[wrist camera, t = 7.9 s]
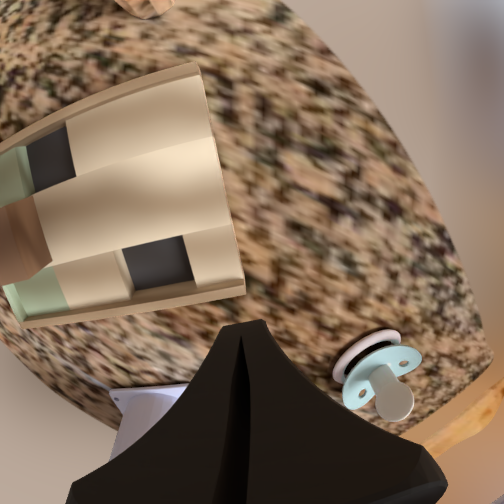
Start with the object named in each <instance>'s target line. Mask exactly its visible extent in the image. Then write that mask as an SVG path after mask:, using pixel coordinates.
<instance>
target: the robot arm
mask: <svg viewBox="0 0 504 504" xmlns="http://www.w3.org/2000/svg"><path fill="white" fill-rule="evenodd" d="M109 395H110V397H111V398H112V400H113V401H114V403H115V404H116V406H117V407H118V409H119V410H120V412H121V413H122V415H123V418H122V421H121V424H120V427H119V430H118V433H117V436H116V440H115V443H114V446H113V450H112V453H111V456H110V459H109V462H108V463H106V464H105V465H103V466H101V467H100V468H98V469H96V470H95V471H93V472H91V473H89V474H88V475H86V476H84V477H82V478H81V479H79V480H77V481H75V482H73V483H72V485H71V488H70V491H69V494H68V497H67V500H66V504H436V502H437V501H438V500H439V499H440V498H441V497H442V496H443V494H444V492H445V491H446V489H447V486H448V482H447V480H446V478H445V476H444V473H443V472H442V470H441V468H440V467H439V466H438V464H437V463H436V461H435V460H434V459H433V457H432V456H431V455H430V454H429V453H428V451H427V450H426V449H425V448H424V447H423V446H422V445H419V444H416V443H414V442H411V441H408V440H406V439H403V438H401V437H399V436H396V435H394V434H392V433H389V432H387V431H385V430H383V429H381V428H379V427H377V426H375V425H373V424H371V423H369V422H368V421H366V420H364V419H362V418H361V417H359V416H358V415H356V414H354V413H353V412H351V411H350V410H348V409H346V408H345V407H343V406H342V405H340V404H339V403H337V402H336V401H334V400H333V399H332V398H331V397H329V396H328V395H327V394H325V393H324V392H323V391H322V390H320V389H319V388H318V387H317V386H316V385H315V384H313V383H312V382H311V381H310V380H309V379H308V378H307V377H306V376H305V375H304V374H303V373H302V372H301V371H300V370H299V369H298V368H297V367H296V366H295V365H294V364H293V363H292V361H291V360H290V359H289V358H288V357H287V355H286V354H285V353H284V352H283V350H282V349H281V348H280V347H279V345H278V344H277V342H276V341H275V339H274V338H273V336H272V335H271V333H270V331H269V329H268V327H267V325H266V321H264V320H262V319H259V320H254V321H249V322H243V323H238V324H232V325H227V326H223V327H222V328H221V330H220V332H219V334H218V336H217V338H216V340H215V342H214V344H213V345H212V347H211V349H210V351H209V353H208V355H207V356H206V358H205V360H204V361H203V363H202V365H201V366H200V368H199V370H198V371H197V373H196V374H195V376H194V377H193V379H192V380H191V382H190V383H186V384H177V385H166V386H154V387H139V388H120V389H111V390H110V391H109ZM491 504H504V495H502V496H501V497H500V498H498V499H497V500H495V501H494V502H492V503H491Z"/></svg>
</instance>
